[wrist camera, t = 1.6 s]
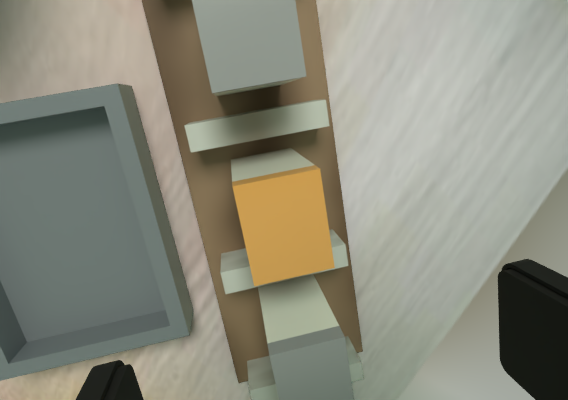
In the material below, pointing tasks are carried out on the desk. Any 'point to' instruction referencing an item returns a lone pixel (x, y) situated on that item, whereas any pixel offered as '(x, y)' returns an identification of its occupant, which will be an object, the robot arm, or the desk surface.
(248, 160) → the block
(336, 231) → the fuse board
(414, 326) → the desk surface
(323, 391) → the block
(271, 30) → the block
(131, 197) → the tray
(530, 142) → the desk surface
